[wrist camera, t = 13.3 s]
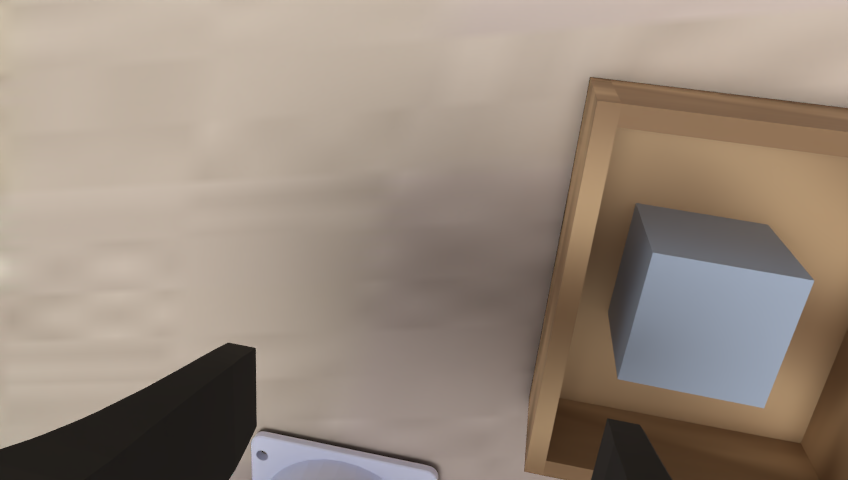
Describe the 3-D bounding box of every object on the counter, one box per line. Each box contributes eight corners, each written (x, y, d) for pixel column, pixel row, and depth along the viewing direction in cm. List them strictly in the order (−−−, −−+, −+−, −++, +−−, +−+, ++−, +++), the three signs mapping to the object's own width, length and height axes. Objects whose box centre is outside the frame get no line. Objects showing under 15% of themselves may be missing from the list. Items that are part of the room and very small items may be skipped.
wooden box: (808, 450, 23) (854, 539, 20) (529, 397, 25) (524, 471, 21) (945, 120, 19) (1040, 156, 15) (590, 76, 20) (597, 100, 16)
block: (729, 335, 22) (764, 408, 18) (607, 312, 22) (617, 379, 19) (767, 224, 20) (814, 280, 16) (635, 203, 21) (653, 252, 17)
